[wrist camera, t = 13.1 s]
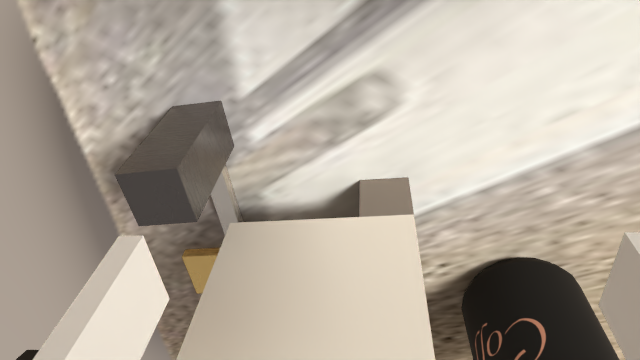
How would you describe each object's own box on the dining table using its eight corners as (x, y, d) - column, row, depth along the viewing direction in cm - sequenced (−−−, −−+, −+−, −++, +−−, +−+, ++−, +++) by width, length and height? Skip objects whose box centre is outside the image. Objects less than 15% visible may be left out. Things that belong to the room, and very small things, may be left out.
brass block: (187, 246, 44) (181, 256, 43) (235, 243, 44) (232, 254, 43) (201, 282, 47) (196, 293, 46) (247, 280, 46) (244, 291, 45)
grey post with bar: (172, 106, 36) (114, 174, 27) (220, 100, 35) (176, 168, 27) (236, 286, 46) (208, 375, 38) (274, 284, 46) (255, 374, 37)
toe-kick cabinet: (232, 182, 39) (134, 404, 23) (414, 172, 37) (454, 407, 20) (274, 340, 50) (230, 565, 34) (416, 338, 48) (443, 578, 32)
